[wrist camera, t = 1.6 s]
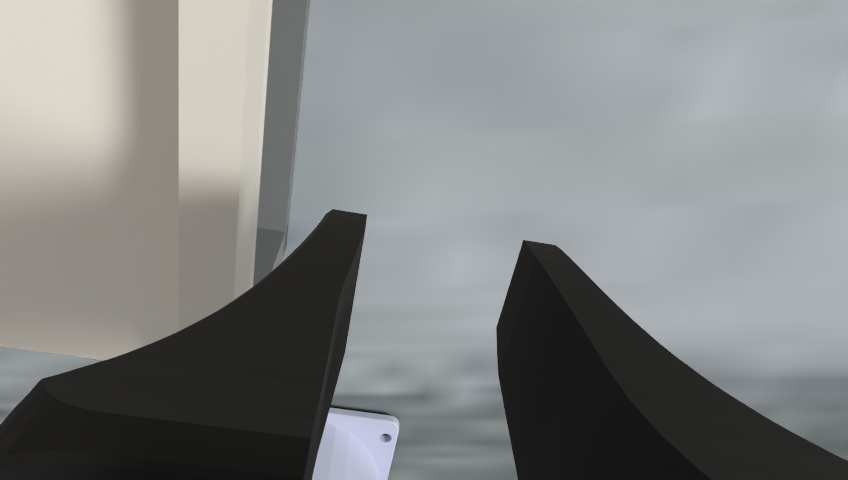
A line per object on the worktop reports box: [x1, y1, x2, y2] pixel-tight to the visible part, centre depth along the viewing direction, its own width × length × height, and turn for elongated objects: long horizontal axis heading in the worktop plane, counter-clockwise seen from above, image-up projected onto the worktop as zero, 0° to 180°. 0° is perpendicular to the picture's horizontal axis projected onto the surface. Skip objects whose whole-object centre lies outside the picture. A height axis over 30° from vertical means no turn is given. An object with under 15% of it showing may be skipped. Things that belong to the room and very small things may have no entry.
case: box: [253, 0, 310, 286], centre depth 17 cm, size 13×13×6 cm
